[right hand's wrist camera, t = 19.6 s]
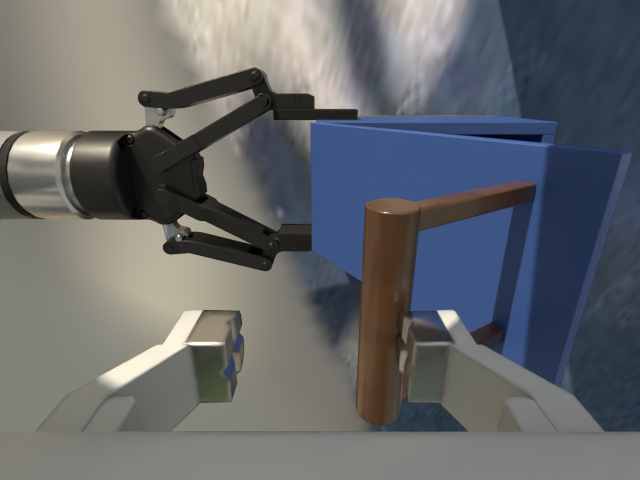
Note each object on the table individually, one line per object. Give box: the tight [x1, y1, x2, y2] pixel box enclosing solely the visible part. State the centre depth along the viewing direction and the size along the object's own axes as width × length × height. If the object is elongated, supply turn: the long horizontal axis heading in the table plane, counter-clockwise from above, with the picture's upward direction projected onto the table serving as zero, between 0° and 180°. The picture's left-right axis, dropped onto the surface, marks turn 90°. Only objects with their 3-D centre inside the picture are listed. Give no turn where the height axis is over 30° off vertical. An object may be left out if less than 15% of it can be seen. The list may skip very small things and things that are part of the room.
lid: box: [311, 122, 633, 425], centre depth 18 cm, size 18×10×8 cm
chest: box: [316, 115, 558, 144], centre depth 32 cm, size 17×10×11 cm, turn 90°
